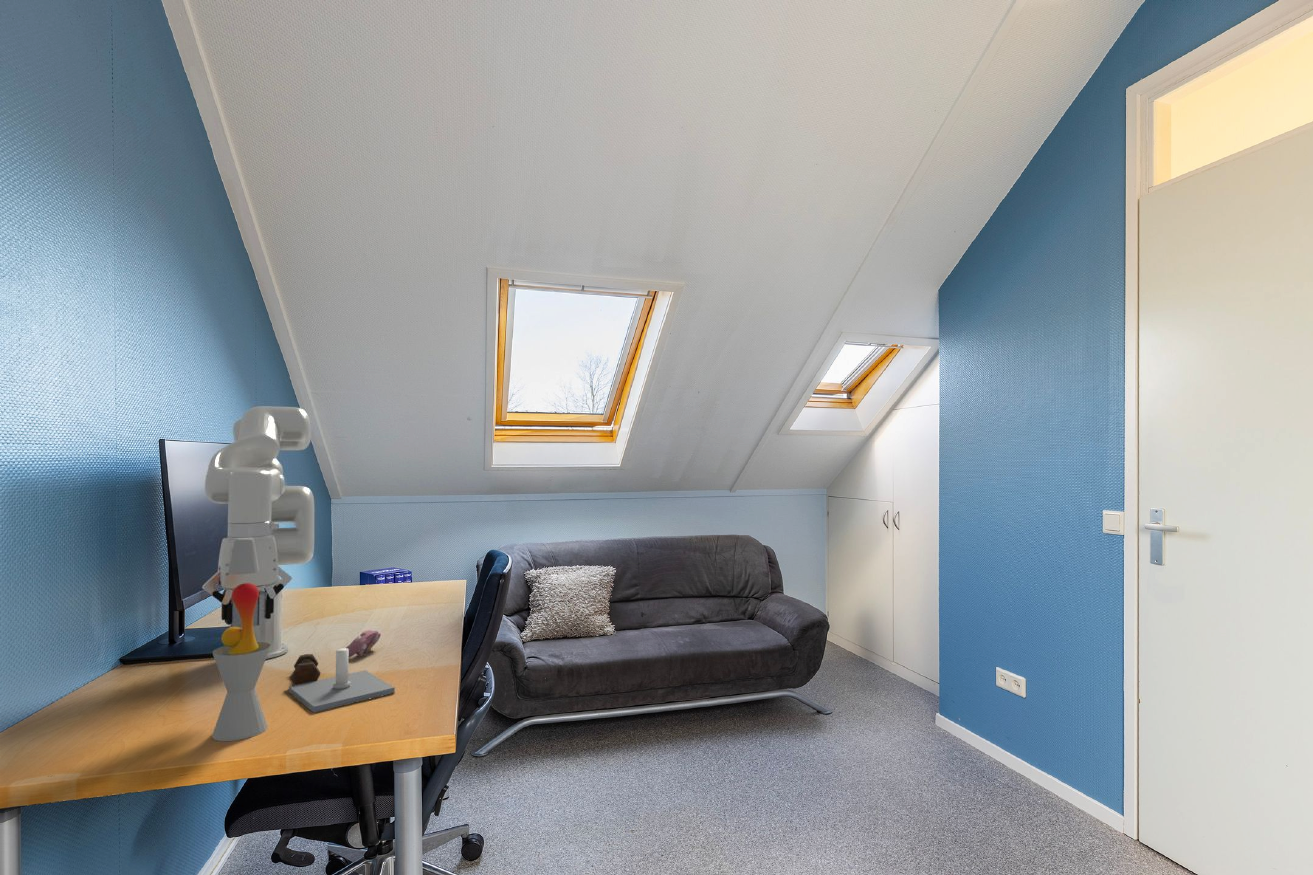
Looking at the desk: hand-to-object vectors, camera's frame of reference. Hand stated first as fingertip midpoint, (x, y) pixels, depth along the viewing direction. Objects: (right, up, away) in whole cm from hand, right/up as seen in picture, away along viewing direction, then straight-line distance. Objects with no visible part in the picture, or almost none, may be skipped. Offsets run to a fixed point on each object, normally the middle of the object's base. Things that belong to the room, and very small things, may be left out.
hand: (247, 619), depth 136 cm
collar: (0, -1, 0) cm, 1 cm away
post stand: (+15, -17, +7) cm, 24 cm away
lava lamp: (+6, -17, -13) cm, 22 cm away
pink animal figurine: (+7, -19, +36) cm, 41 cm away
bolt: (+3, -18, +17) cm, 25 cm away
